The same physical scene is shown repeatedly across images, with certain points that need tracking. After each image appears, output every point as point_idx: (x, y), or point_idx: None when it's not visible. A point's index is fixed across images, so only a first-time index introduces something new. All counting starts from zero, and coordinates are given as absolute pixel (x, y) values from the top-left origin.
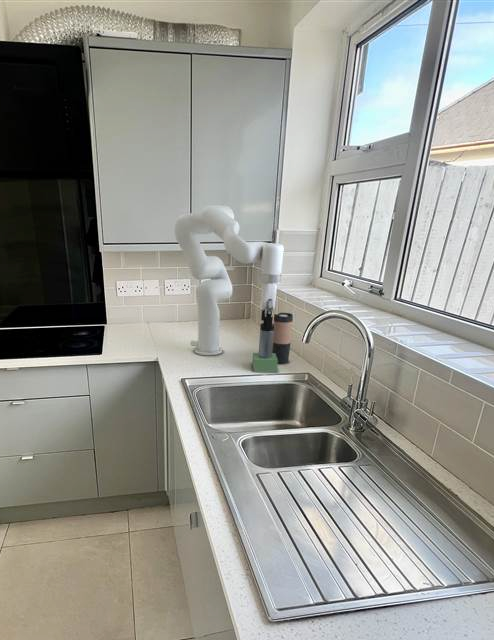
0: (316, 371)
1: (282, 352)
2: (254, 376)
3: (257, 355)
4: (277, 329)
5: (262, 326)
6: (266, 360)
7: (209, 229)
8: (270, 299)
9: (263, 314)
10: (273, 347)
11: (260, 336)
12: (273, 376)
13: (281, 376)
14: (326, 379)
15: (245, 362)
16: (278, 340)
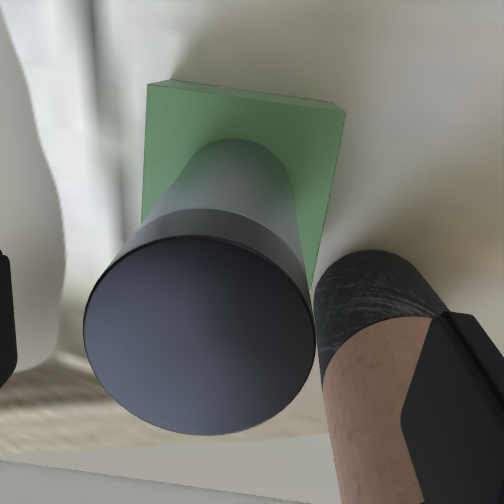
0: (178, 435)
1: (318, 341)
2: (76, 64)
3: (264, 135)
4: (381, 431)
5: (129, 248)
6: (144, 183)
7: None
8: None
9: (470, 412)
10: (370, 301)
11: (192, 185)
12: (86, 195)
13: (90, 242)
14: (65, 441)
15: (382, 52)
16: (344, 367)
